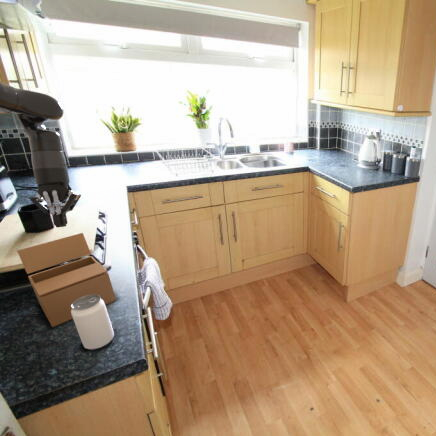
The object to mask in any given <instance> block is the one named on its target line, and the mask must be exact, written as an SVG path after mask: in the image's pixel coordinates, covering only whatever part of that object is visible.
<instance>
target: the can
mask: <svg viewBox="0 0 436 436" xmlns="http://www.w3.org/2000/svg"><path fill="white" fill-rule="evenodd" d="M71 307H72V310H71V314H72V317H73V319H72V320H73V322H74V325H75V328H76V331H77V333H78V335H79V338H80V341H81V343H82V346H83V348H84V349H87V350H97V349H98V350H99V349H101V348H103V347H105V346H107V345H108V344H110V343H111V341H113V339H114V337H115V331H114V328H113V326H112V325H113V324H112V322H111V319H110V315H109V312H108V309H107V305H105V303H104V301H103V300H102V299H101V298H100V296H99V295H87V296H83V297H81V298H79V299H77V300H76V301H74V302H73V303H72V305H71Z"/></svg>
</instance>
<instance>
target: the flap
mask: <svg viewBox="0 0 436 436" xmlns="http://www.w3.org/2000/svg"><path fill="white" fill-rule="evenodd" d="M16 252H17V254H18V256H19V259H20V261H21V263H22V265H23V267H24V270H25V272H26V274H27V275H29V274H32V273H35V272H39V271H42V270H45V269H48V268H51V267H54V266H58V265H60V264H64V263H66V262H67V263H68V262H71V261H72V260H76V259H80V258H82V257H83V258H84V257H86V256H90V255H91V254H92V253H91V250H90V248H89V245H88V242H87V240H86V237H85V235H84V232H79V233H76V234H73V235H69V236H65V237H61V238H58V239H54V240H51V241H46V242H44V243H40V244H36V245H32V246H28V247H25V248H22V249H17V250H16Z"/></svg>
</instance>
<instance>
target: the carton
mask: <svg viewBox="0 0 436 436" xmlns="http://www.w3.org/2000/svg"><path fill="white" fill-rule="evenodd" d="M27 277H28V280H29V282H30V284H31V287H32V289H33V291H34V293H35V296H36V299H37V302H38V303H39V305H40V307H41V309H42V311H43V313H44V315H45V316H46V318H47V321H48V322H49V324H50V327H52V328H55V327H57V326H59V325H61V324H64V323H66V322H68V321H70V320H73V317H72V314H71V310H72V307H71V305H72V303H73V302H74V301H76V300H77V299H79V298H81V297H83V296H87V295H99V296H100V298H101V299H102V300H103V301H104V303H105V306H107V305H109V304H111V303H112V302H115V301H117V299H116V294H115V291H114V289H113V285H112V282H111V278H110V275H109V272H108V270H107V269H106V268H105V267H104V266H103V265H102V264H101V262H100V261H97V260H96V258H95V257H93V255H88V256H87V257H86V256H85V257H83V258H81V259H80V258H79V259H77V260H74V261H70V262H67V263H65V264H64V263H63V264H62V265H59V266H58V265H57V266H55V267H53V268H49V269H46V270H43V271H39V272H36V273H34V274H31V275H28V276H27Z"/></svg>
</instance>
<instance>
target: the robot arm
mask: <svg viewBox="0 0 436 436" xmlns="http://www.w3.org/2000/svg"><path fill="white" fill-rule="evenodd" d="M0 113H4V114H9V115H16V117H17V119H18V121H19V123H20V125H21V127H22V128H23V131H24V133H25V135H26V136H27V138H28V143H29V147H30V153H31V154H30V155H31V165H32V171H33V176H34V181H35V184H36V185H37V190H36V191H37V193H36V195H34V196H31V197H30V198H29V201H31V203H33V204H34V205H35V206H36V207H37V208H38V209H39V210H41V211H42V213H44V214H49V215H51V218H52V221H53V225H54V226H55V228H64V227H67V225H68V217H67V213H68V212H72V211H73V210H74V209H75V207H76V205H77V204H78V203H79V200H80V198H81V197H82V195H81V193H79V192H75V191H73V190H72V187H71V186H70V182H71V181H70V176H69V175H70V174H69V170H68V164H67V159H66V157H65V153H64V148H63V143H62V138H61V135H60V133H59V132H57V131H55V130H49V129H46V126H45V125H44V123H52V122H57V121H59V120H60V119H62V118H63V116H64V113H65V112H64V107H63V105H62V104H61V103H60V102H59V100H57V99H56V98H55V97H53V96H51V95H49V94H46V93H44V92H43V93H42V92H37V91H33V90H28V89H22V88H17V87H13V86H11V85H9V84H7V83H3V82H0Z"/></svg>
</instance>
